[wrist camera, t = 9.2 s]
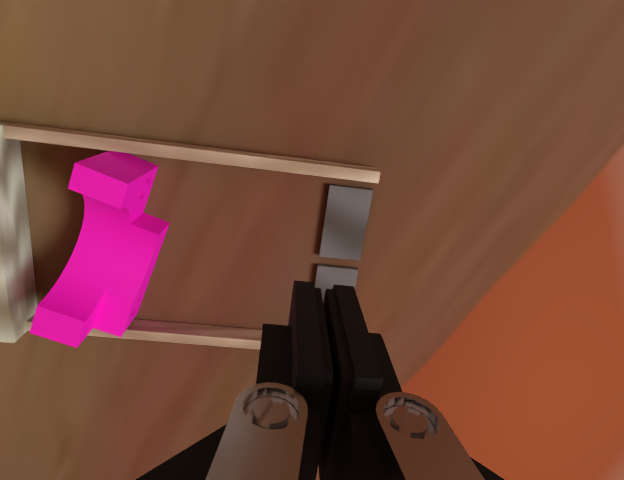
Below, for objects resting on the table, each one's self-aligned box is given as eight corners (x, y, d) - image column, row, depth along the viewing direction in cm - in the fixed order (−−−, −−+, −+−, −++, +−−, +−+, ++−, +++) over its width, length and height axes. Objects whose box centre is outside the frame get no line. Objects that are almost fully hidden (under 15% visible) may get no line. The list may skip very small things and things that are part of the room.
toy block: (138, 311, 41) (107, 357, 34) (75, 290, 40) (29, 332, 33) (186, 176, 37) (161, 197, 30) (117, 148, 36) (74, 162, 29)
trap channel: (-1, 120, 34) (-37, 124, 31) (376, 167, 37) (385, 176, 34) (23, 318, 41) (-4, 341, 37) (343, 344, 44) (348, 368, 40)
